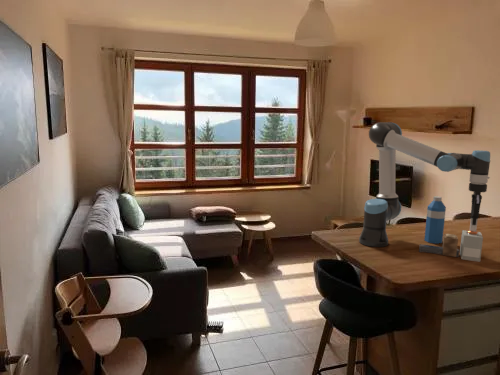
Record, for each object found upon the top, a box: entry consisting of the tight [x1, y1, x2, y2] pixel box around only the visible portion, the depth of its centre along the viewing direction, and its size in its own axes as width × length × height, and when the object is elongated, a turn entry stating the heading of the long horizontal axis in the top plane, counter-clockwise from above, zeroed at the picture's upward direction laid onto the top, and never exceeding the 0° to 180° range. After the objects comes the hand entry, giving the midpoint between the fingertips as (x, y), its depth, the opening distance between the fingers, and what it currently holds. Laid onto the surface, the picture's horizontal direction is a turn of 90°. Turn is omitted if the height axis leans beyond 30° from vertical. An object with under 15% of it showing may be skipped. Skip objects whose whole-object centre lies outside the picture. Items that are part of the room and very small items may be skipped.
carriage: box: [442, 233, 459, 258], centre depth 200 cm, size 6×7×10 cm
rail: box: [418, 243, 460, 258], centre depth 202 cm, size 18×5×3 cm, turn 67°
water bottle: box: [423, 195, 447, 245], centre depth 220 cm, size 9×9×25 cm
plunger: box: [466, 229, 479, 236], centre depth 195 cm, size 4×4×6 cm
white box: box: [459, 229, 484, 262], centre depth 196 cm, size 8×10×12 cm
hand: (472, 230), depth 195 cm, fingers closed
